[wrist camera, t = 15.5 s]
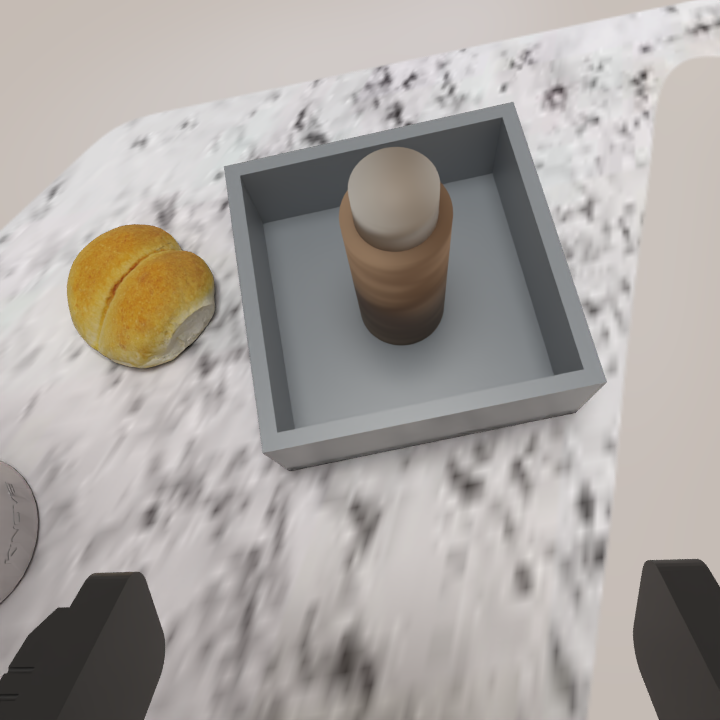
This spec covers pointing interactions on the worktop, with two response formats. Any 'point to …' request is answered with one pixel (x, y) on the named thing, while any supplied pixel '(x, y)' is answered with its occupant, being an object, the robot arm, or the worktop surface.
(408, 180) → the pepper mill
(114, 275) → the bread roll
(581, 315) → the bin
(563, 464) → the worktop surface
